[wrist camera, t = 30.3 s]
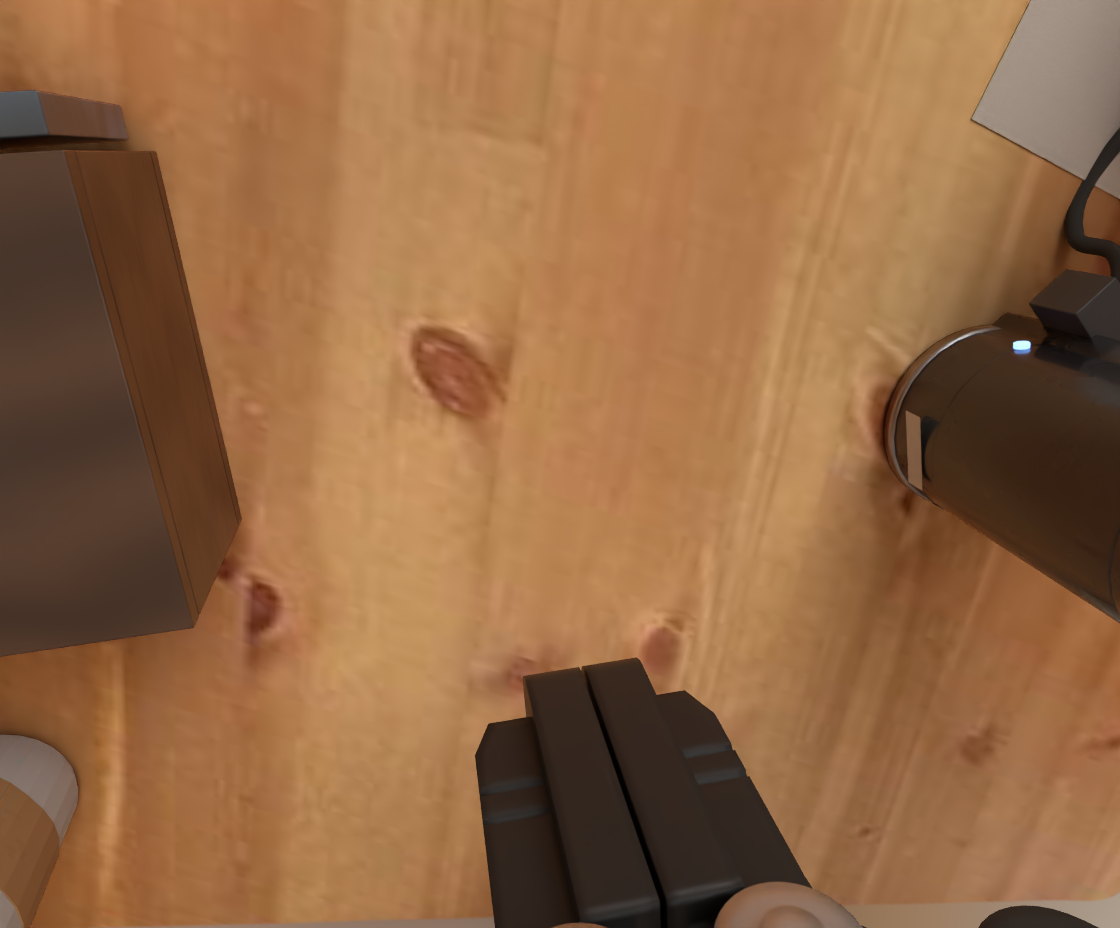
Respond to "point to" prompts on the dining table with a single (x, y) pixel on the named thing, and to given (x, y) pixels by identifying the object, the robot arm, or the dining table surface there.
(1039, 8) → the architectural model
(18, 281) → the cabinet
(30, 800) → the coffee cup
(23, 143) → the drawer
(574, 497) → the dining table surface
